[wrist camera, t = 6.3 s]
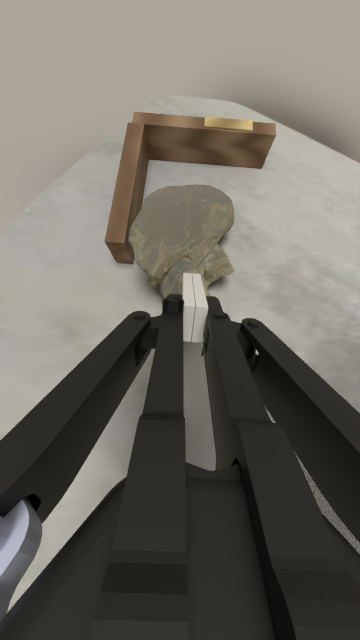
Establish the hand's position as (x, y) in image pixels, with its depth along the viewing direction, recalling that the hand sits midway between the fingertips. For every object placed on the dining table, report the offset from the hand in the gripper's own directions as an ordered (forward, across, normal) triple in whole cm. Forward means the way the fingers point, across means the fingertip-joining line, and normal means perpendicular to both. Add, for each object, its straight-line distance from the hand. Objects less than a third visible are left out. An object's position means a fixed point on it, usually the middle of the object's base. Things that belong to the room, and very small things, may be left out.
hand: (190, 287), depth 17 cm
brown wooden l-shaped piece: (+13, -1, -7) cm, 15 cm away
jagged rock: (+7, 0, 0) cm, 7 cm away
